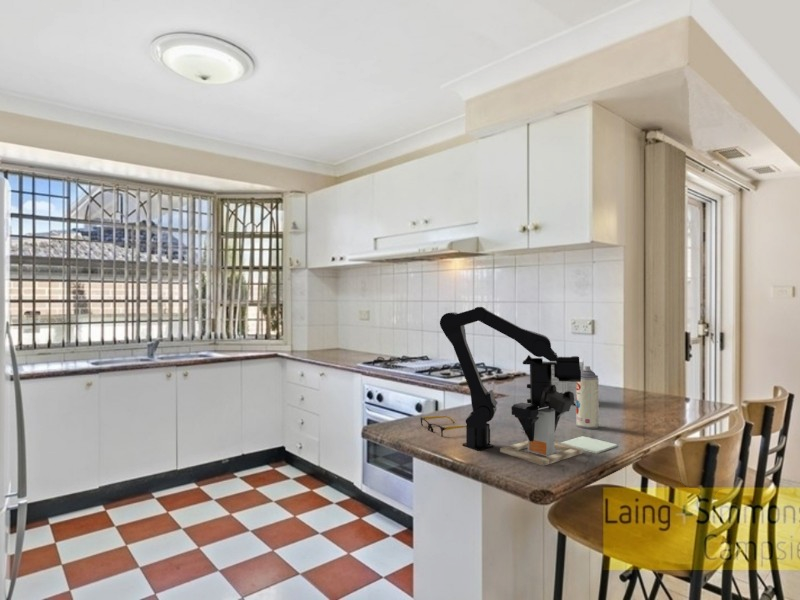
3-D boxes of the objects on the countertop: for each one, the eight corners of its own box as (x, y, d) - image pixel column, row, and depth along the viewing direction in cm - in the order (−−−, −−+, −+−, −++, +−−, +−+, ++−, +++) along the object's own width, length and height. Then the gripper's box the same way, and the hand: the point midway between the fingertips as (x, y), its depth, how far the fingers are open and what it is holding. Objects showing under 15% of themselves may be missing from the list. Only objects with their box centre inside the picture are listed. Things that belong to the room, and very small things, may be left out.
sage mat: (596, 453, 129) (596, 451, 129) (561, 444, 138) (561, 442, 138) (617, 446, 136) (617, 444, 136) (582, 437, 145) (582, 436, 145)
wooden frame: (543, 466, 119) (543, 461, 119) (500, 452, 130) (500, 448, 130) (582, 453, 130) (582, 448, 130) (539, 441, 141) (539, 437, 141)
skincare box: (527, 452, 130) (527, 408, 130) (534, 448, 133) (535, 406, 133) (547, 457, 126) (548, 412, 126) (555, 453, 129) (555, 409, 129)
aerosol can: (576, 423, 162) (576, 364, 163) (598, 425, 160) (598, 365, 160) (576, 427, 156) (576, 367, 156) (598, 430, 154) (598, 368, 154)
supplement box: (583, 405, 190) (583, 362, 191) (549, 403, 195) (549, 360, 196) (583, 399, 203) (583, 358, 203) (551, 397, 208) (551, 357, 208)
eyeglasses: (417, 429, 156) (417, 416, 156) (455, 424, 162) (455, 412, 162) (440, 440, 143) (440, 427, 143) (479, 434, 150) (479, 421, 150)
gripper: (545, 388, 118) (546, 451, 118) (586, 380, 129) (588, 438, 129) (509, 383, 127) (510, 442, 126) (551, 376, 138) (552, 430, 138)
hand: (541, 438), depth 130 cm, fingers open, 9 cm apart
